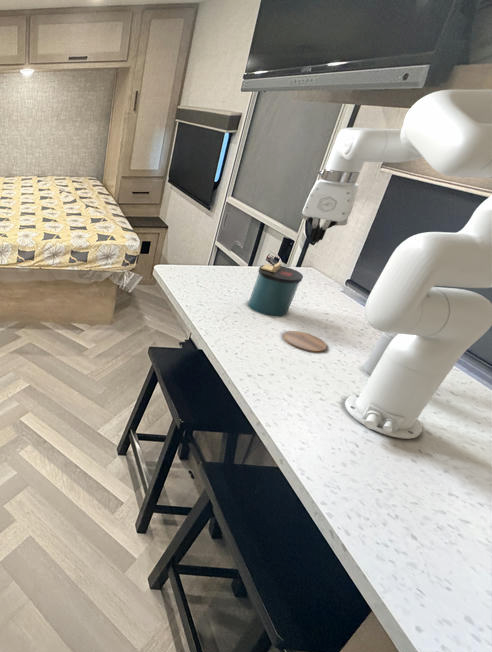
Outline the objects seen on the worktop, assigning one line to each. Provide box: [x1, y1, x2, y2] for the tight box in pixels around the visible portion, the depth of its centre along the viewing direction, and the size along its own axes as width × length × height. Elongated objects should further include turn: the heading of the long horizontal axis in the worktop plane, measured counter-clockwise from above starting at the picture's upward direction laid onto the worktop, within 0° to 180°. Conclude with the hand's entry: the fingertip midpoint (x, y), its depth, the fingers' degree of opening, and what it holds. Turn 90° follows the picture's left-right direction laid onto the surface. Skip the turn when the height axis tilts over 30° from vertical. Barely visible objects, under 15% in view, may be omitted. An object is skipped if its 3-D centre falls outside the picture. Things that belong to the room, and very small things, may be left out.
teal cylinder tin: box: [247, 264, 304, 318], centre depth 128 cm, size 12×12×13 cm
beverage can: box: [362, 331, 398, 376], centre depth 99 cm, size 5×5×12 cm
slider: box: [260, 262, 282, 273], centre depth 127 cm, size 4×4×2 cm
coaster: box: [283, 330, 327, 353], centre depth 114 cm, size 10×10×1 cm
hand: (314, 241), depth 116 cm, fingers closed
